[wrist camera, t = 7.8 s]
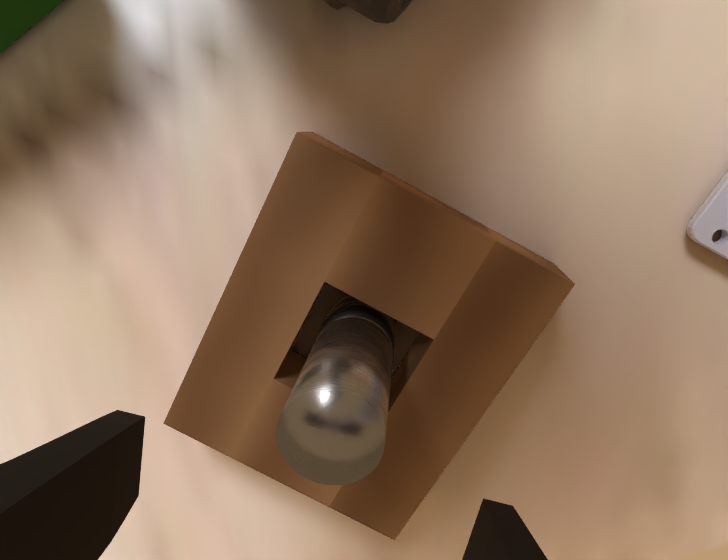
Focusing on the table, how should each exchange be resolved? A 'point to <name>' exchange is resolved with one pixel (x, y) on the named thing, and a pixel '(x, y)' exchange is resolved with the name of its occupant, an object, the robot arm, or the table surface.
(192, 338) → the table surface
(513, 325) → the holder
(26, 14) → the green block
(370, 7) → the cordless drill
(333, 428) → the metal cylinder
